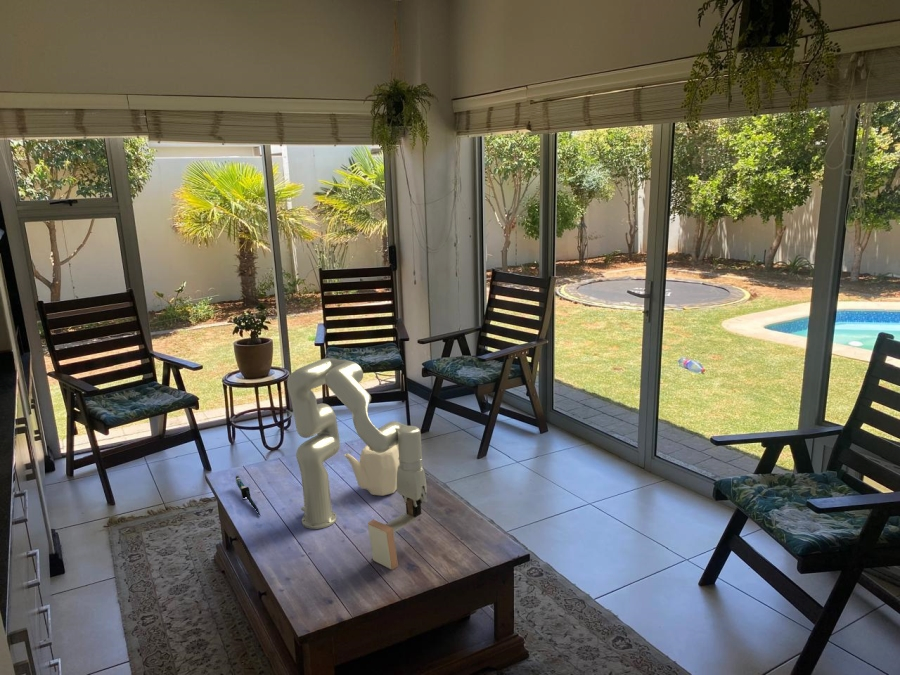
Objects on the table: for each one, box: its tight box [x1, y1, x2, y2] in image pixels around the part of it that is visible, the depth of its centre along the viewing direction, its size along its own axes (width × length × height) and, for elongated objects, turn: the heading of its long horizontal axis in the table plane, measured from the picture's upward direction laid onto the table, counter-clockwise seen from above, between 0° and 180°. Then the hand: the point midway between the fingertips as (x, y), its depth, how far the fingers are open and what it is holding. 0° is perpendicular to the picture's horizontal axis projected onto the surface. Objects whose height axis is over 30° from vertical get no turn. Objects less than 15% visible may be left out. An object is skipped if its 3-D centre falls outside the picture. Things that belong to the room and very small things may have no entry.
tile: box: [367, 519, 399, 571], centre depth 216 cm, size 9×3×14 cm, turn 48°
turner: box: [385, 499, 423, 533], centre depth 221 cm, size 5×16×6 cm, turn 139°
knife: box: [235, 475, 261, 517], centre depth 264 cm, size 31×3×4 cm, turn 29°
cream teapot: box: [344, 445, 399, 497], centre depth 267 cm, size 16×27×19 cm, turn 118°
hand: (413, 513), depth 226 cm, fingers closed on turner, 2 cm apart
